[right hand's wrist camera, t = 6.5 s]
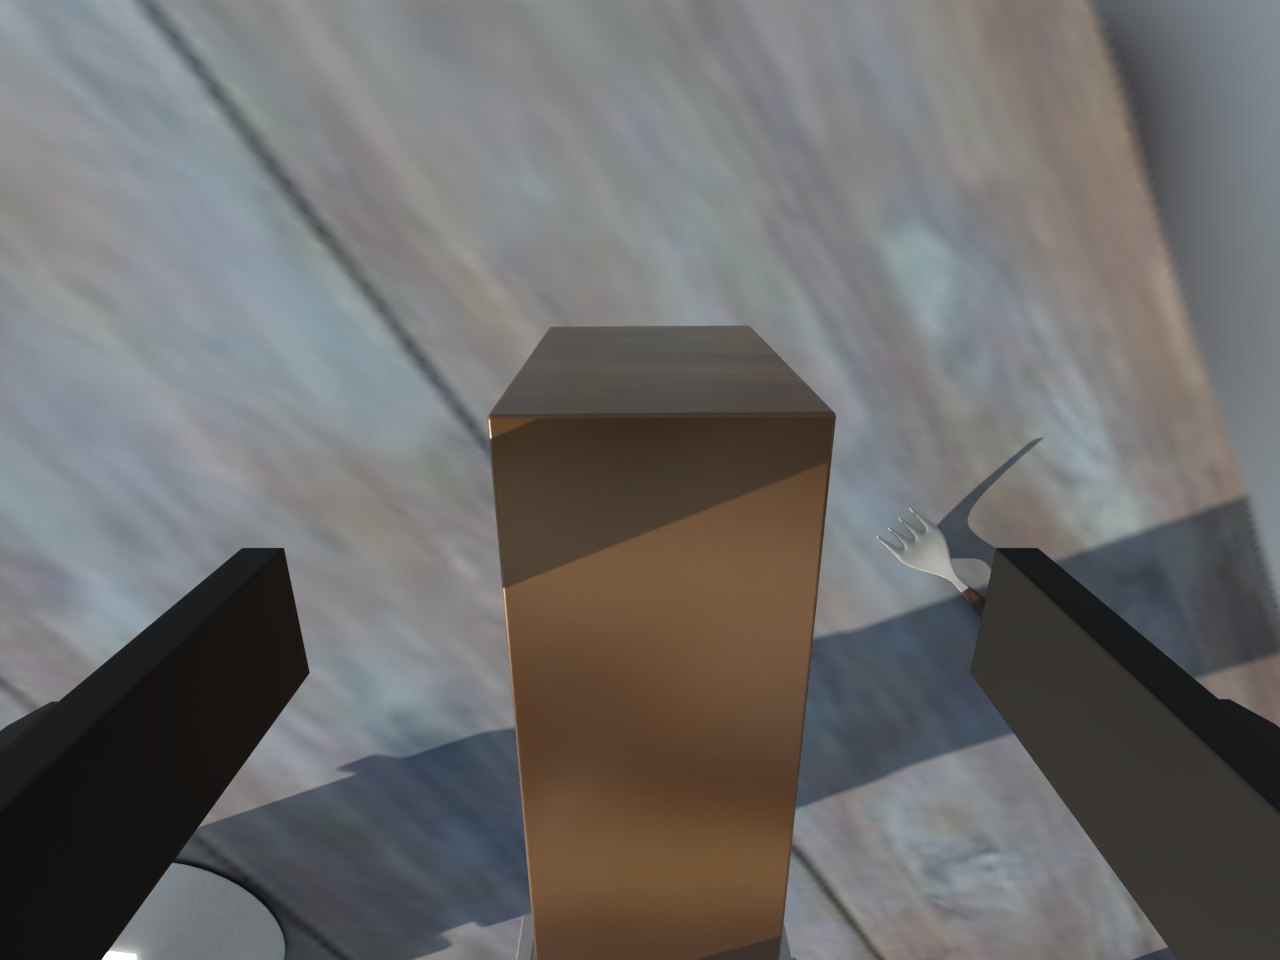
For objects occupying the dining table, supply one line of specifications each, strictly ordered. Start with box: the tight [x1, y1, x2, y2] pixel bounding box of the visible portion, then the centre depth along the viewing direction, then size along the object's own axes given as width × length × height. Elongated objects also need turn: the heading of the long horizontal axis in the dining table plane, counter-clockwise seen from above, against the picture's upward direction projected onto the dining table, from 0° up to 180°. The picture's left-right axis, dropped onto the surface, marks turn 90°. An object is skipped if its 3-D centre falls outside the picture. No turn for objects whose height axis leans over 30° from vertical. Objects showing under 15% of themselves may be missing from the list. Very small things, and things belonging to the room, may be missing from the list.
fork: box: [876, 508, 986, 618], centre depth 37 cm, size 3×16×2 cm, turn 47°
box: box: [487, 326, 836, 960], centre depth 21 cm, size 24×6×10 cm, turn 0°
